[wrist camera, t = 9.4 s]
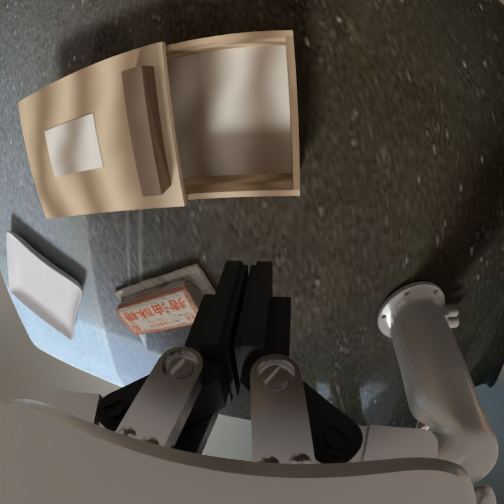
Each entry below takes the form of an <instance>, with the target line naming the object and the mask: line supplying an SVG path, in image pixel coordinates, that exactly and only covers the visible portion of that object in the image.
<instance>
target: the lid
mask: <svg viewBox="0 0 504 504" xmlns="http://www.w3.org/2000/svg"><path fill="white" fill-rule="evenodd" d="M18 105H19V113H20V119H21V125H22V131H23V136H24V141H25V146H26V150H27V155H28V159H29V163H30V167H31V171H32V174H33V178H34V182H35V185H36V188H37V192H38V195H39V198H40V201H41V204H42V207H43V210H44V213H45V216H46V219H49V218H57V217H66V216H74V215H83V214H93V213H103V212H113V211H124V210H136V209H149V208H163V207H179V206H185V205H186V204H187V201H186V195H185V189H184V183H183V178H182V172H181V165H180V159H179V153H178V146H177V139H176V133H175V125H174V118H173V110H172V103H171V94H170V86H169V77H168V67H167V57H166V46H165V42H158V43H155V44H151V45H147V46H144V47H141V48H137V49H134V50H131V51H128V52H125V53H122V54H119V55H116V56H113V57H111V58H108V59H105V60H103V61H100V62H98V63H95V64H93V65H90V66H88V67H86V68H83V69H81V70H79V71H76V72H74V73H72V74H70V75H68V76H66V77H64V78H62V79H60V80H58V81H56V82H54V83H52V84H50V85H48V86H46V87H44V88H42V89H41V90H39V91H37V92H35V93H34V94H32V95H30V96H28V97H27V98H25V99H23V100H22V101H20V102H19V103H18Z"/></svg>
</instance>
